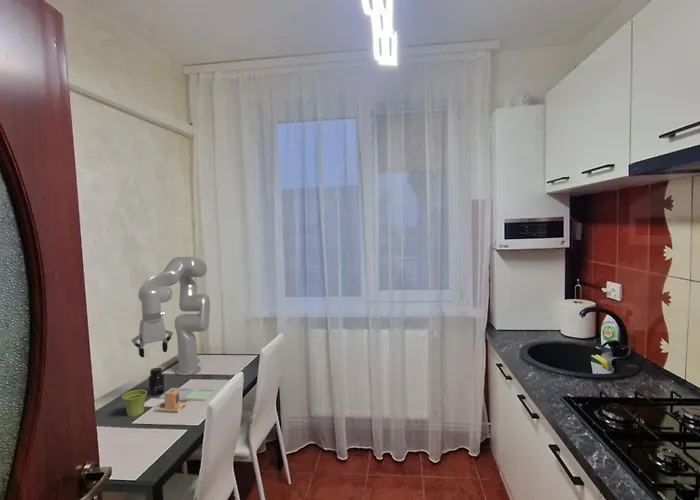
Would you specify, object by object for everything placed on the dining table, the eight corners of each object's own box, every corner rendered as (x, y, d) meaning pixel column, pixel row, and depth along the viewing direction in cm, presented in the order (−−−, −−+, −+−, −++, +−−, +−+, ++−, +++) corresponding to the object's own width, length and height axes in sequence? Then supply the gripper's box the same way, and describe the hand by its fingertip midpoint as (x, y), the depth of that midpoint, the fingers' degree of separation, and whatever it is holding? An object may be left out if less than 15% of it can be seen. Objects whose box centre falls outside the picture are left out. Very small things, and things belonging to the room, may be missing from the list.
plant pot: (153, 410, 177) (152, 391, 176) (135, 420, 168) (133, 400, 167) (136, 407, 180) (135, 388, 179) (117, 417, 171) (116, 397, 170)
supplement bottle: (158, 397, 190) (157, 372, 189) (145, 396, 191) (144, 371, 190) (168, 391, 197) (166, 367, 196) (155, 390, 198) (154, 366, 197)
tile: (151, 399, 188) (151, 398, 188) (167, 400, 187) (167, 398, 187) (140, 407, 180) (140, 405, 180) (157, 407, 179) (157, 406, 179)
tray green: (195, 391, 196) (194, 388, 195) (216, 392, 194) (215, 389, 194) (183, 401, 185) (183, 398, 185) (205, 402, 184) (205, 399, 184)
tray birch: (168, 402, 184) (168, 399, 184) (190, 403, 183) (190, 399, 183) (154, 413, 174) (154, 409, 174) (177, 414, 173) (177, 410, 173)
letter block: (170, 404, 181) (170, 388, 181) (180, 404, 180) (179, 389, 180) (165, 409, 177) (164, 393, 176) (174, 409, 176) (174, 393, 176)
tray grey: (171, 390, 197) (171, 387, 197) (192, 391, 196) (192, 388, 196) (158, 400, 187) (158, 397, 186) (180, 401, 185) (180, 398, 185)
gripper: (168, 312, 190) (170, 348, 192) (127, 318, 178) (130, 357, 179) (174, 314, 185) (176, 351, 186) (133, 321, 173) (135, 360, 174)
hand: (153, 354), depth 183 cm, fingers open, 9 cm apart
